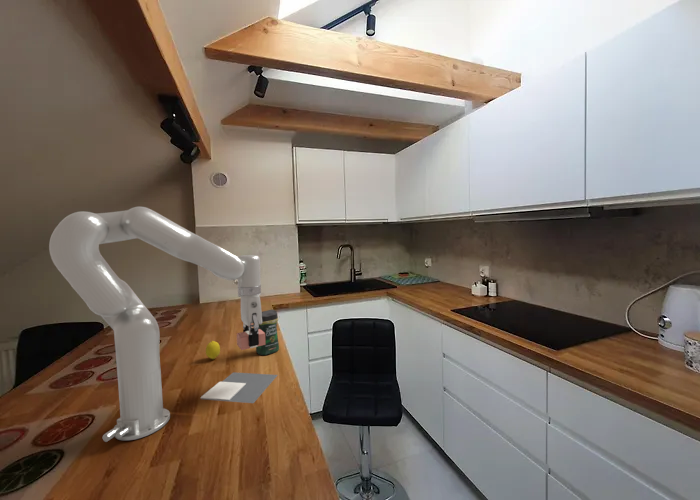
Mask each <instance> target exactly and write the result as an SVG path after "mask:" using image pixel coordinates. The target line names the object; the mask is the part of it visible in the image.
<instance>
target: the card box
mask: <svg viewBox="0 0 700 500" xmlns="http://www.w3.org/2000/svg"><path fill="white" fill-rule="evenodd" d="M258 331H259V345H256V346H252V347H249V335H250V334H249V331H245V332H243V331H241V332H237V333H236V345H237V346H238V348H239V349H240V350H241V351H243V350H246V349H253V348H256V347H257V346H262V345H265V333H264V332H263V331H262V330H261V329H259V330H258Z"/></svg>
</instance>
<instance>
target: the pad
mask: <svg viewBox="0 0 700 500" xmlns="http://www.w3.org/2000/svg"><path fill="white" fill-rule="evenodd" d="M245 384H246V383H235V382H222V381H218V382H217V383H216V384H215V385H214V386H213V387H211V388H210V389H208V390H207V391H206V392H205V393H203V395H201V397H200V399H202V398H204V399H203V400H205V399H217V400H216V401H218V400H230V399H231V398H232V397H233V396H234V395H235V394H236V393H237V392H238V391H239V390H240V389H241V388H242V387H243V386H244V385H245Z"/></svg>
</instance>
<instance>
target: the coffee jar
mask: <svg viewBox="0 0 700 500" xmlns="http://www.w3.org/2000/svg"><path fill="white" fill-rule="evenodd" d="M261 311H262V324H259V328H258V329H261V330H262V331H263V332H264V333H265V345H262V346H257V347H255V352H256V354H257V355H259V356H267V355H271V354H275V353H277V352H278V351H279V350H280V343H279V338H278V328H277V325H278V321H279V316H278V312H277V310H276V309H275V310H274V309H267V310H261Z"/></svg>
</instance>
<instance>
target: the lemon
mask: <svg viewBox="0 0 700 500" xmlns="http://www.w3.org/2000/svg"><path fill="white" fill-rule="evenodd" d="M220 353H221V346H220V344H219V342H217V341H215V340H211V341H210V342H208V343H207V345H206V347H205V355H206V357H207V358H208V359H211V360H215V359H216V358H218V357H219V355H220Z"/></svg>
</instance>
